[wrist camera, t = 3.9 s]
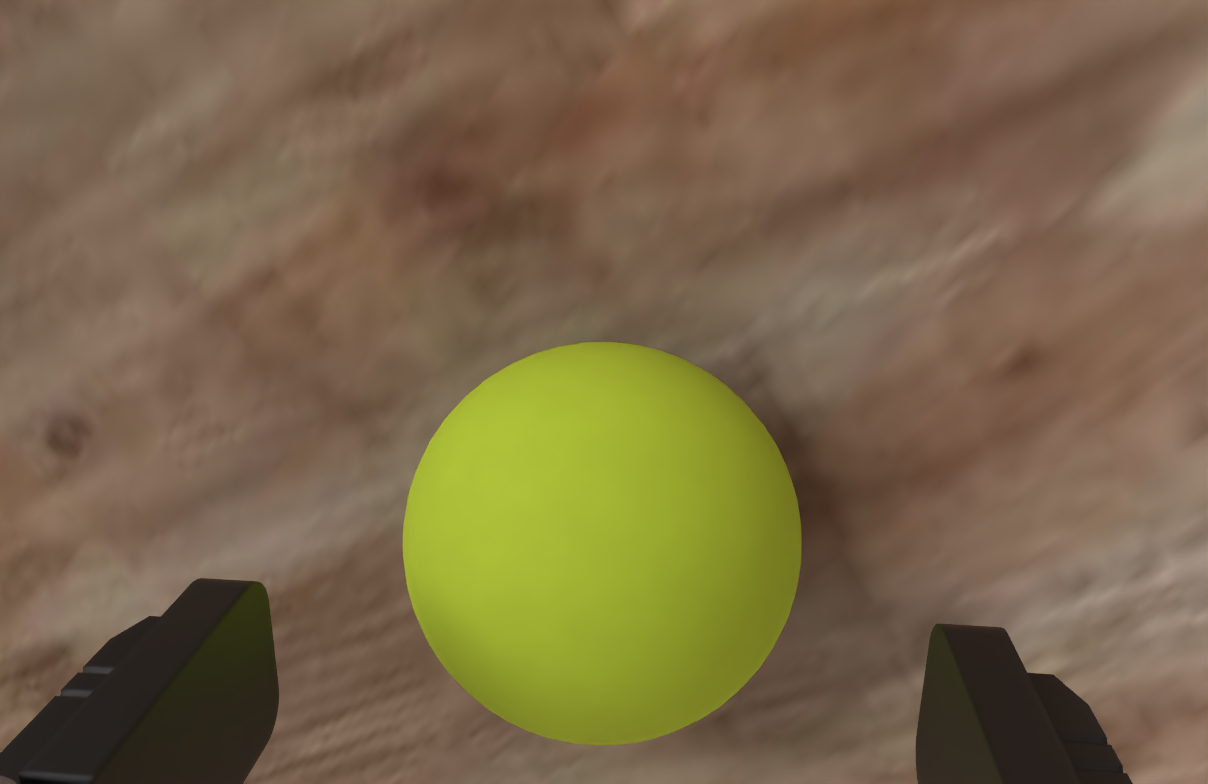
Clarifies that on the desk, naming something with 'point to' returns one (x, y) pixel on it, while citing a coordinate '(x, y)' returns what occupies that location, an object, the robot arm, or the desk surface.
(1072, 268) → the desk surface
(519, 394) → the ball
